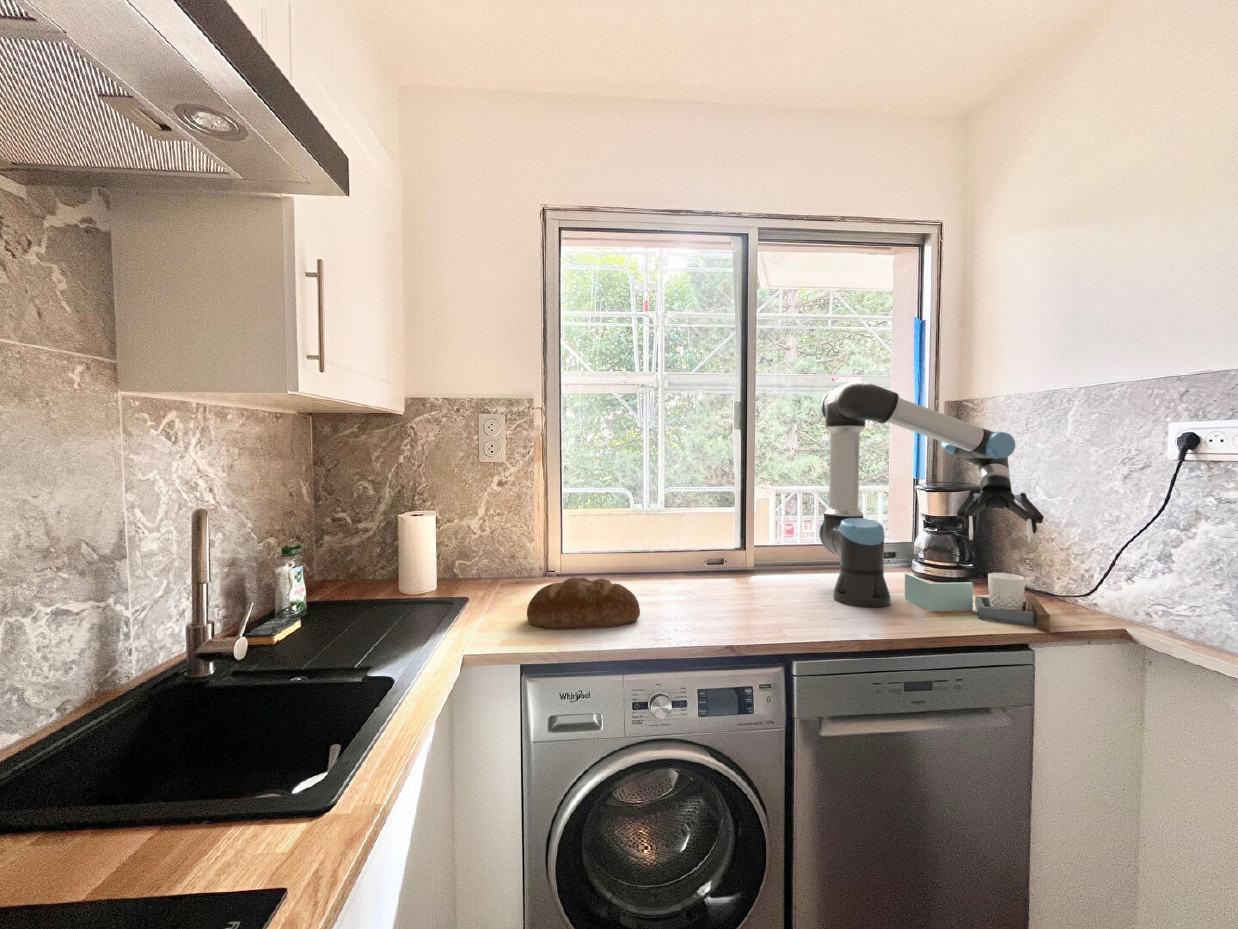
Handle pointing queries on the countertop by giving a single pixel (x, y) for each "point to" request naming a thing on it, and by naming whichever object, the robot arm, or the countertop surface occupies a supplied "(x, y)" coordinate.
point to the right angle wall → (939, 594)
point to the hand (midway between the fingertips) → (1000, 539)
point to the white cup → (1006, 591)
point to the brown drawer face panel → (1038, 613)
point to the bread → (583, 605)
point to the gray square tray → (1003, 613)
